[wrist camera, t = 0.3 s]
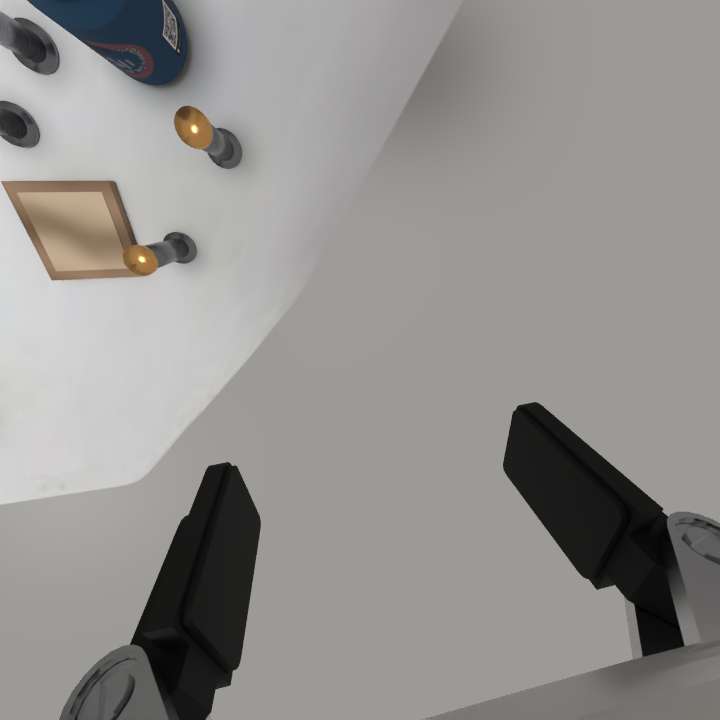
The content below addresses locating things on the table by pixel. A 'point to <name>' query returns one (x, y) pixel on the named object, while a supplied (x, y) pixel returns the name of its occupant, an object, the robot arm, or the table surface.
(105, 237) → the walnut coaster
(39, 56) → the post
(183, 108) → the post
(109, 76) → the table surface
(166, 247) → the post
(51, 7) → the soda can
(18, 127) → the post
